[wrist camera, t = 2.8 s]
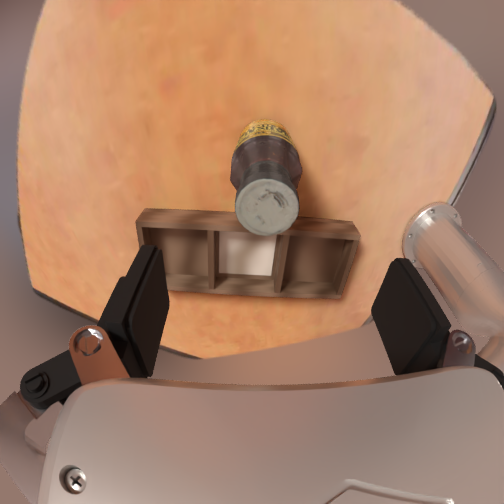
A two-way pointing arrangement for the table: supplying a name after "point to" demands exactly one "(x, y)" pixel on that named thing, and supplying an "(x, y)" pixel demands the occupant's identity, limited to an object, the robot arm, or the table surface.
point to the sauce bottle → (266, 178)
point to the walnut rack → (250, 254)
